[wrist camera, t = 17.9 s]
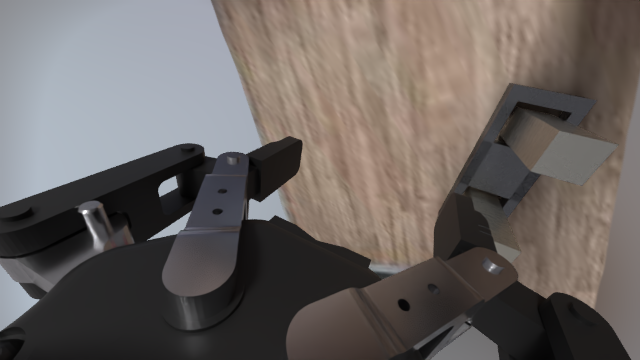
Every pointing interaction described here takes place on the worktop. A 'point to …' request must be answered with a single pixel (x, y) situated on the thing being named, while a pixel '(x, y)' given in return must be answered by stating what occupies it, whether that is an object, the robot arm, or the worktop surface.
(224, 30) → the worktop surface
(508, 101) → the dark grey slotted holder
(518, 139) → the seated block
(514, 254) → the off-white tall block
